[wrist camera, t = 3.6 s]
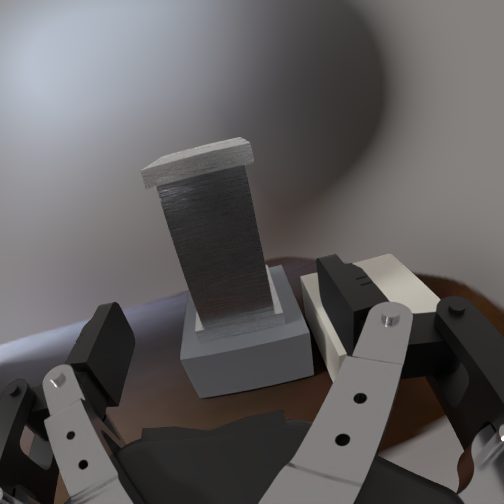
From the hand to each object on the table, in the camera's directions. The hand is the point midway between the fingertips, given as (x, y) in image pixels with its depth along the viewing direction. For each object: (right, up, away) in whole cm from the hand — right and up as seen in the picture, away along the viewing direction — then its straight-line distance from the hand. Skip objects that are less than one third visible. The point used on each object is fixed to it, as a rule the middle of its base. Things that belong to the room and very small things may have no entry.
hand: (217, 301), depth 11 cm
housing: (0, -2, +10) cm, 10 cm away
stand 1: (+1, -5, +12) cm, 13 cm away
